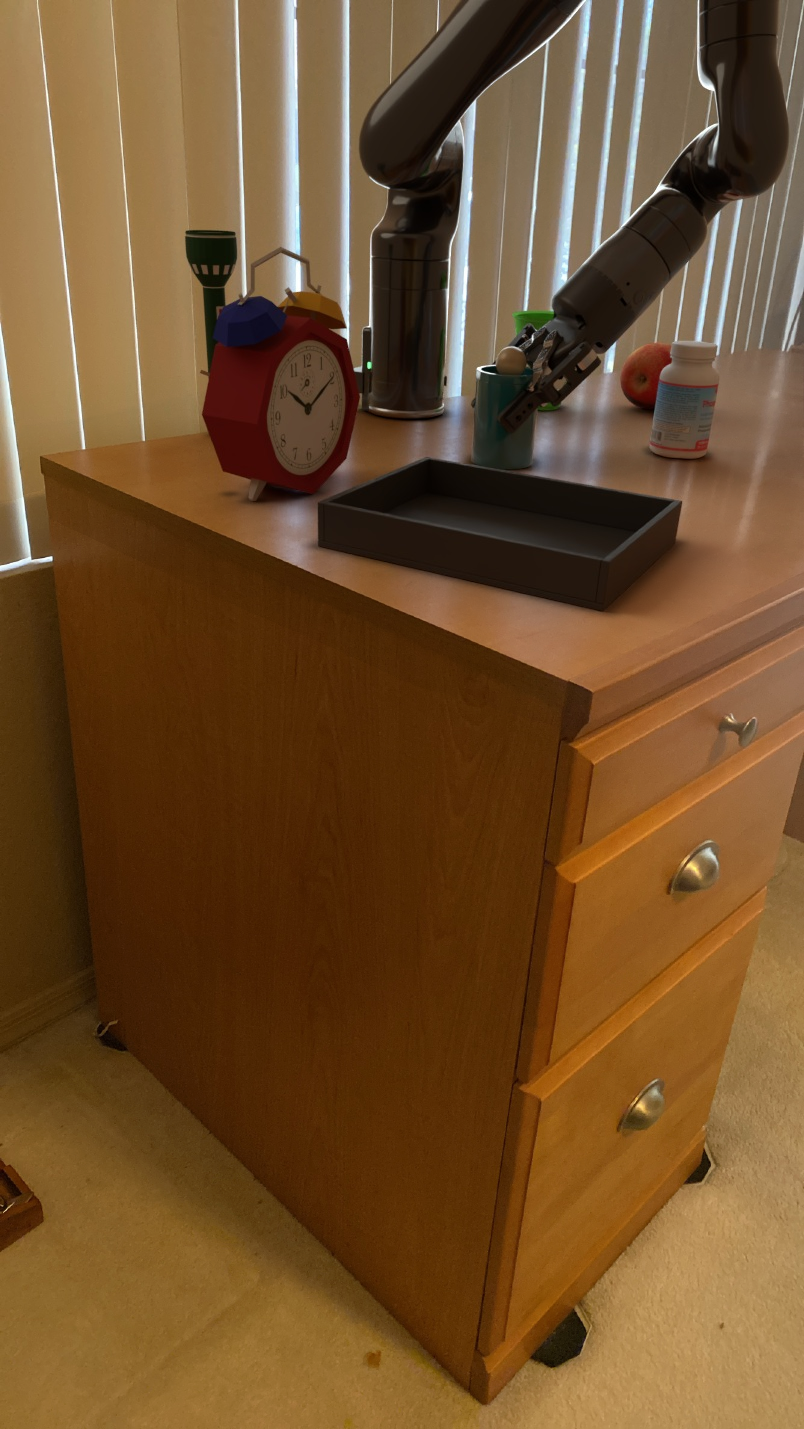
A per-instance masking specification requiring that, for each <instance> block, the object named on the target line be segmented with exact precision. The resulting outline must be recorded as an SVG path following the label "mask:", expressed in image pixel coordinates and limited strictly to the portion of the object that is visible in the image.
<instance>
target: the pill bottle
mask: <svg viewBox="0 0 804 1429" xmlns="http://www.w3.org/2000/svg"><path fill="white" fill-rule="evenodd" d="M671 345H672V346H671V352H670V354H671V356H670V357H671V358H672V363H671V364H669V365H667V366H666V367H664V368H663V370H662V371H661V374H660V379H659V385H658V392H657V398H656V405H655V408H654V412H653V419H652V424H651V425H652V426H651V431H650V440H649V446H648V447H649V450H650V451H651V452H652V453H653V454H656V455H658V456H661V457H665V458H670V459H671V458H672V459H673V458H674V459H686V460H687V459H689V460H690V459H691V460H692V459H699V458H702V457H704V456H705V455H707V451H708V447H709V442H710V435H711V429H712V424H713V418H714V412H715V407H716V402H717V396H718V389H719V385H720V374H719V371H718V370H717V369H716V368H715V367H713V362H715V361H716V358H717V354H718V353H717V352H718V344H717V343H713V342H707V341H699V340H697V341H696V340H675V341H672V343H671Z"/></svg>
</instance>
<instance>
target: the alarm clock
mask: <svg viewBox="0 0 804 1429" xmlns="http://www.w3.org/2000/svg"><path fill="white" fill-rule="evenodd" d="M279 254H282V255H285V256H287V257H288V258H292V259H294V260H296V261H298V262H301V263H302V264H305V276H306V279H305V280H306V286H307V287H308V288H309V289H310V290H312V291H313V292H311V291H303V290H301V291H300V290H299V291H292V289H291V288H290V286H288V287H286V288H285V289H284V292H285V294H286V298H284V299H283V300H282V301H281V302H280V303H279V305H277V304H275V303H274V302H273V301H272V300H269V299H268V298H266V297H264V296H262V295H257V296H251V295H253V294H254V293H255V290H256V288H255V287H256V286H255V285H256V279H255V278H256V268H257V267H259V266H260V265H262V264H264V263H265V262H267V261H269V260H270V259H273V258H274V257H276V256H277V255H278V256H279ZM310 266H311V264H310V259H309V258H307V257H304V256H302V255H299V254H298V253H295V252H293V251H291V250H289V249H286V248H285V247H282V246H279V247H278V248H276V249H273V251H271V252H269V253H267V254H265V255H264V256H262V257H260V258H259V259H256V260H255V261H253V262H251V263H250V289H249V290H248V292H247V293H246V294H245V296H243V292H240V293H238V298H239V299H236V300H234V301H232V302H230V303H228V304H226V306H224V307H223V309H222V310H221V312H220V314H219V316H218V319H217V323H216V327H215V331H214V335H213V339H215V340H217V341H218V342H219V343H217V344H216V345H215V350H214V355H213V360H212V365H211V370H210V373H209V372H208V371H206V370H203V369H201V370H200V372H199V374H201V375H204V376H207V377H208V376H209V379H208V381H207V386H206V389H205V390H206V391H205V396H204V401H203V407H202V411H201V417H202V419H203V422H204V424H205V427H206V429H207V432H208V435H209V438H210V440H211V443H212V445H213V449H214V451H215V454H216V457H217V459H218V462H219V465H220V468H221V471H222V472H224V473H226V474H230V475H234V476H236V477H240V478H244V479H246V480H250V483H249V489H248V490H249V491H248V496H247V497H248V498H247V499H248V500H249V501H250V502H256V501H257V499H258V498H259V496H260V495H261V493H262V491H263V490H264V488H265V486H266V485H268V486H269V485H270V486H273V487H277V488H278V487H279V488H283V489H287V490H293V491H298V492H301V493H306V494H311V495H314V494H315V493H316V492H317V491H319V489H320V488H321V487H322V486H323V484H324V483H325V482H326V481H328V479H329V478H330V477H331V476H332V475H333V474H334V473H335V471H336V470H338V468H339V467H340V466H342V464H344V462H345V461H346V460H347V459H348V454H349V450H350V445H351V440H352V436H353V431H354V426H355V422H356V418H357V414H358V409H359V404H360V400H361V393H359V390H358V385H357V381H356V377H355V372H354V368H355V367H354V364H353V360H352V356H351V351H350V347H349V343H348V339H347V338H345V337H344V336H342V335H340V334H339V333H337V332H335V331H333V330H345V329H346V330H347V329H348V327H347V323H346V320H345V316H344V314H343V310H342V308H341V306H340V304H339V303H338V302H337V301H335V300H333V299H332V298H329V297H326V296H325V295H323V294H322V293H321V291H322V290H321V289H322V285H319V284H317V286H316V287H315V286H314V285H313V284H312V282H311V267H310Z"/></svg>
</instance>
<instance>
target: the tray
mask: <svg viewBox="0 0 804 1429" xmlns="http://www.w3.org/2000/svg"><path fill="white" fill-rule="evenodd" d="M682 506H683V500H680V499H674V498H668V497H662V496H656V495H655V496H654V495H650V494H643V493H638V492H633V491H626V490H621V489H615V488H610V487H603V486H597V485H591V484H587V483H581V482H575V481H568V480H563V479H557V478H552V477H546V476H539V475H534V474H529V473H522V472H517V471H512V470H504V469H494V468H488V467H482V466H479V465H476V464H471V463H466V462H465V463H464V462H458V461H453V460H447V459H441V458H435V457H429V456H425V457H423V458H419V459H418V460H415V461H413V462H411V463H408V464H406V465H403V466H401V467H398V468H396V469H394V470H392V471H389V472H386V473H384V474H382V475H379V476H377V477H374V478H372V479H370V480H367V481H365V482H362V483H360V484H358V485H355V486H352V487H351V488H348V489H345V490H344V491H341V492H339V493H336V494H333V495H331V496H329V497H326V498H324V499H322V500H319V501H318V502H317V546H318V547H321V548H324V549H330V550H334V551H337V552H339V551H340V552H341V553H342V552H343V553H346V554H347V553H348V554H351V555H355V556H360V557H364V558H367V559H373V560H377V561H382V562H386V563H389V564H390V563H391V564H394V565H399V566H404V567H407V568H413V569H416V570H421V571H424V572H425V571H426V572H430V573H435V574H439V575H443V576H447V577H451V578H457V579H461V580H465V581H470V582H474V583H479V584H482V585H485V586H486V585H487V586H491V587H496V588H500V589H504V590H509V591H513V592H517V593H522V594H526V595H530V596H535V597H538V598H544V599H548V600H552V601H555V602H556V601H557V602H561V603H564V604H570V605H573V606H579V607H583V608H586V609H587V608H588V609H591V610H595V611H600V612H604V611H605V610H606V609H607V608H608V607H609V606H611V605H612V603H613V602H615V601H616V600H617V599H618V597H620V596H621V595H622V594H623V593H624V592H625V591H626V590H627V589H628V588H629V587H630V586H632V585H633V583H634V582H636V581H637V580H638V579H639V578H640V577H641V576H642V575H643V574H644V573H645V572H646V571H648V569H649V568H651V566H653V564H655V563H656V562H657V561H658V560H659V559H660V558H662V556H663V555H664V554H666V552H668V550H670V549H671V548H672V547H673V546H674V545H675V544H676V542H677V535H678V529H679V523H680V519H681V512H682Z"/></svg>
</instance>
